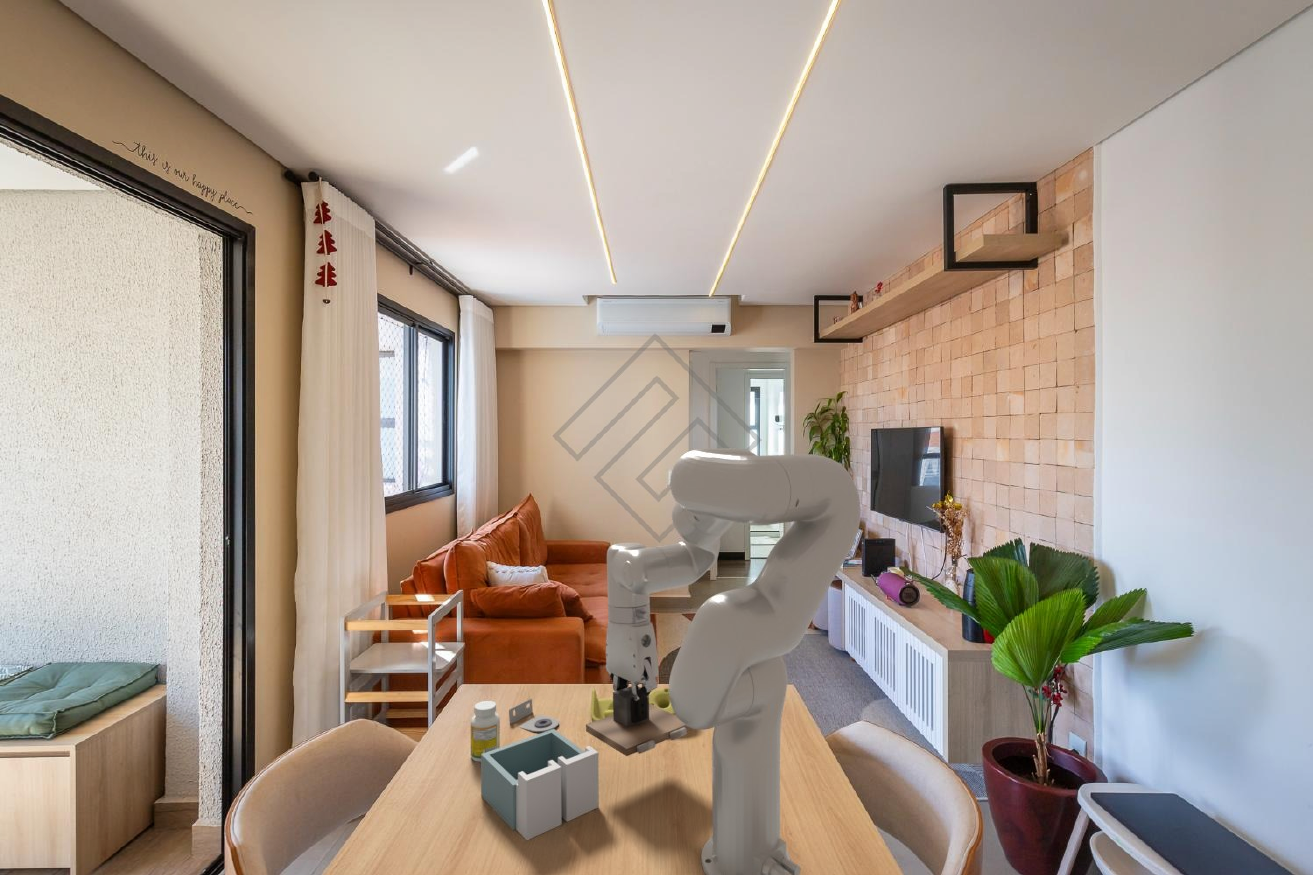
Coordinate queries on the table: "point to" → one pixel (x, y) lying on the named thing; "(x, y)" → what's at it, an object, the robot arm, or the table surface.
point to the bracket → (533, 724)
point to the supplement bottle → (484, 729)
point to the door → (635, 726)
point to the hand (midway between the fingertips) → (631, 715)
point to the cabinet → (540, 782)
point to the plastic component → (605, 706)
